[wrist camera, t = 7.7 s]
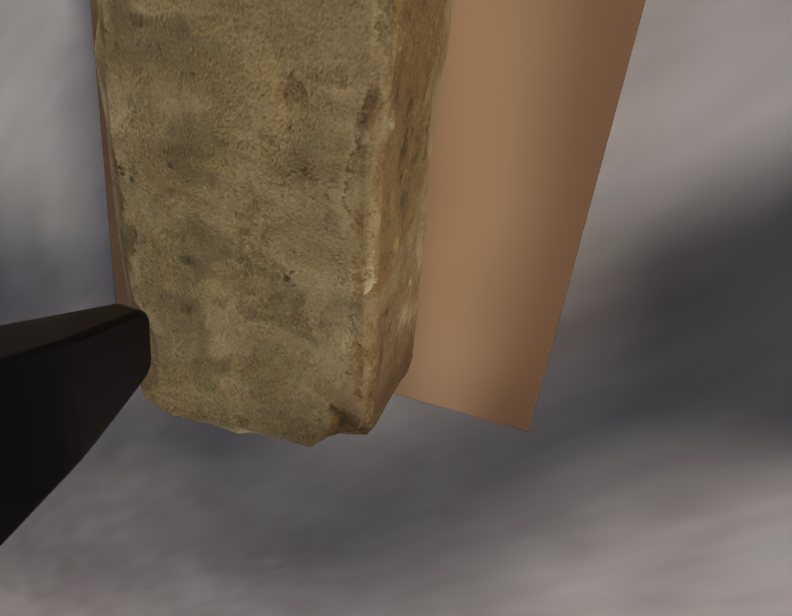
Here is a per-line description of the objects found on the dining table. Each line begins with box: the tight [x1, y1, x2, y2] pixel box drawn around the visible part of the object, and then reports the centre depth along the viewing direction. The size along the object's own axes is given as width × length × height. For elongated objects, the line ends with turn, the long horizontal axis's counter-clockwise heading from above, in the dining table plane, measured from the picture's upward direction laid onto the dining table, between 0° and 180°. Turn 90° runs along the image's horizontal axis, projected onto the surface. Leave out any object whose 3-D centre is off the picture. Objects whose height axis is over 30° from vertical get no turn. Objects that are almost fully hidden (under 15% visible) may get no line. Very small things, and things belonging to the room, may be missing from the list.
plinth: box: [91, 0, 646, 432], centre depth 18 cm, size 13×13×4 cm
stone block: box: [94, 0, 452, 447], centre depth 15 cm, size 6×12×5 cm, turn 176°
